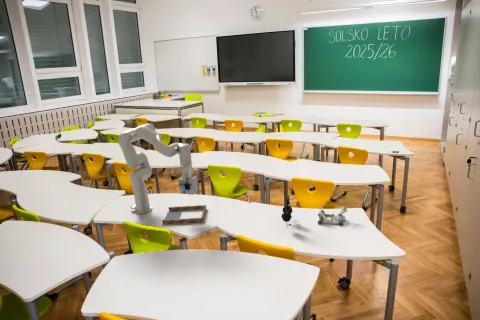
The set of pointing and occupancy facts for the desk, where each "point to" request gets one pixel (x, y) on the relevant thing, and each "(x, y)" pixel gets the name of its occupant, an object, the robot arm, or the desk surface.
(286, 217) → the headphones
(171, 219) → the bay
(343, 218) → the toy car
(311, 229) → the desk surface
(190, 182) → the light bulb box
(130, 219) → the desk surface
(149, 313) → the desk surface
